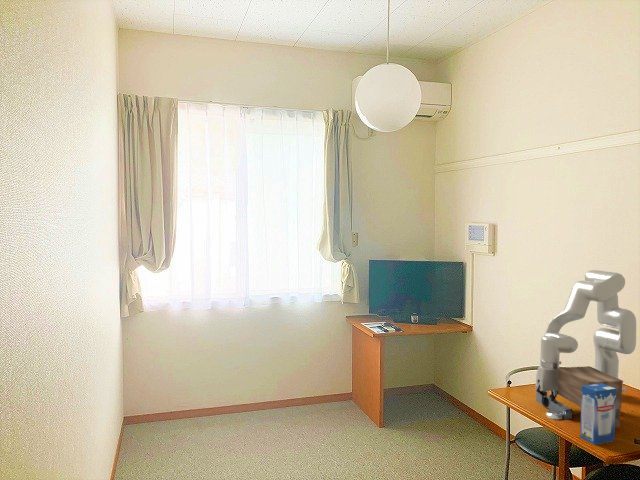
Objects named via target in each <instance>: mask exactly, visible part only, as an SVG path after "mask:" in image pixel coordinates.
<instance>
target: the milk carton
mask: <svg viewBox="0 0 640 480" xmlns="http://www.w3.org/2000/svg"><path fill="white" fill-rule="evenodd" d="M615 409H616V388H613V387H611V386H608V385H605V384H603V383H599V384H591V385H584V386H582V400H581V407H580V433H579V434H580V436H579V437H580V438H581V439H582V440H585V441H586V442H588V443H590V444H592V445H595V446H596V445H601V444H605V443H611V442H615V434H616V433H615V431H616V428H615Z"/></svg>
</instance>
